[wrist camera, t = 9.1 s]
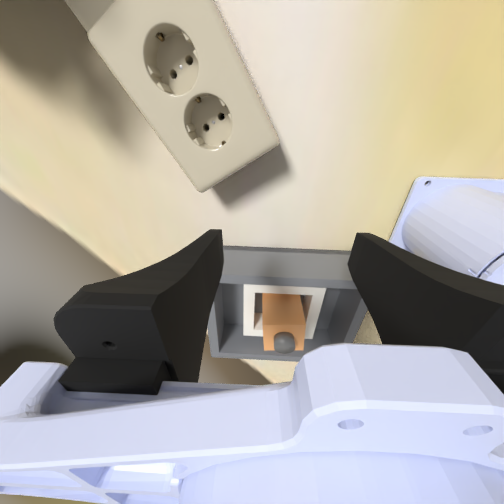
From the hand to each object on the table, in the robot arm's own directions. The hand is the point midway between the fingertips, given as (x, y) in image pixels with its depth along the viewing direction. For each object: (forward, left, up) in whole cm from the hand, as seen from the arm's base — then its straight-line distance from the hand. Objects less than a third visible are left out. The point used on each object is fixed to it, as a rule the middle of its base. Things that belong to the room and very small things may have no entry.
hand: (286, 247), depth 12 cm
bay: (-1, +13, -10) cm, 16 cm away
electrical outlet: (+8, -10, -10) cm, 17 cm away
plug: (-1, +12, -9) cm, 15 cm away
